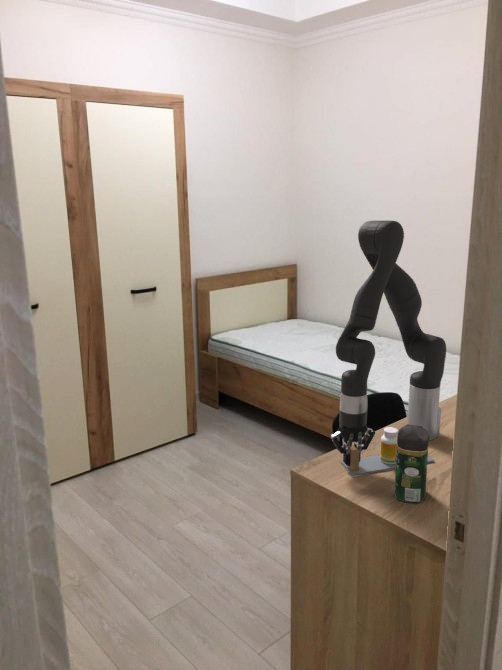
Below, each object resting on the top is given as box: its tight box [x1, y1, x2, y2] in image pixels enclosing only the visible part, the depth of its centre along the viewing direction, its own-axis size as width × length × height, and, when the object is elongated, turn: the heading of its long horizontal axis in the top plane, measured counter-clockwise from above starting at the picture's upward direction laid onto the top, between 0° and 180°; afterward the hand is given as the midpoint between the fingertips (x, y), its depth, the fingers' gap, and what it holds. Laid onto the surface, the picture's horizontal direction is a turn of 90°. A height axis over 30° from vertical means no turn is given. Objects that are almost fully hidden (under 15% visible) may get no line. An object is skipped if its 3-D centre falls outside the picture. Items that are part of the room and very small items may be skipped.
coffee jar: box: [394, 423, 430, 504], centre depth 148 cm, size 10×8×19 cm
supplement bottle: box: [379, 426, 399, 464], centre depth 166 cm, size 5×5×10 cm
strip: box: [340, 443, 435, 477], centre depth 167 cm, size 26×8×7 cm, turn 107°
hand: (351, 463), depth 164 cm, fingers closed on strip, 2 cm apart
